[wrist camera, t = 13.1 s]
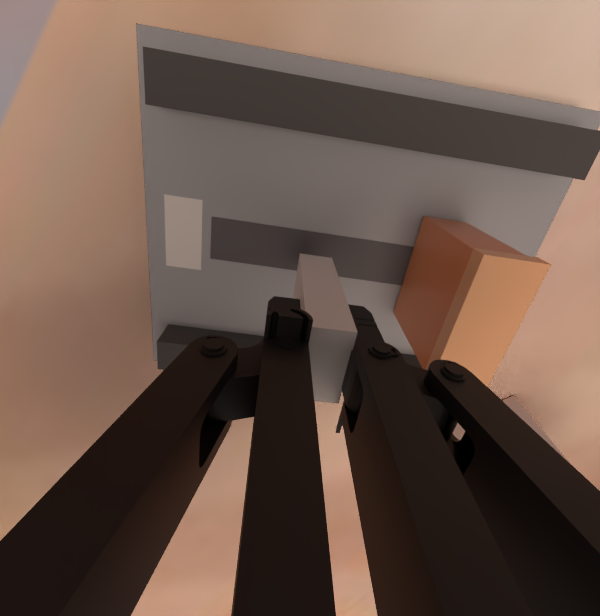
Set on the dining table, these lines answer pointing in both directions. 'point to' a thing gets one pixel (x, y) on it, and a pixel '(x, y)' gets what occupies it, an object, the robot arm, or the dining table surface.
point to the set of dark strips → (354, 130)
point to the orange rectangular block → (465, 296)
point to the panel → (314, 196)
